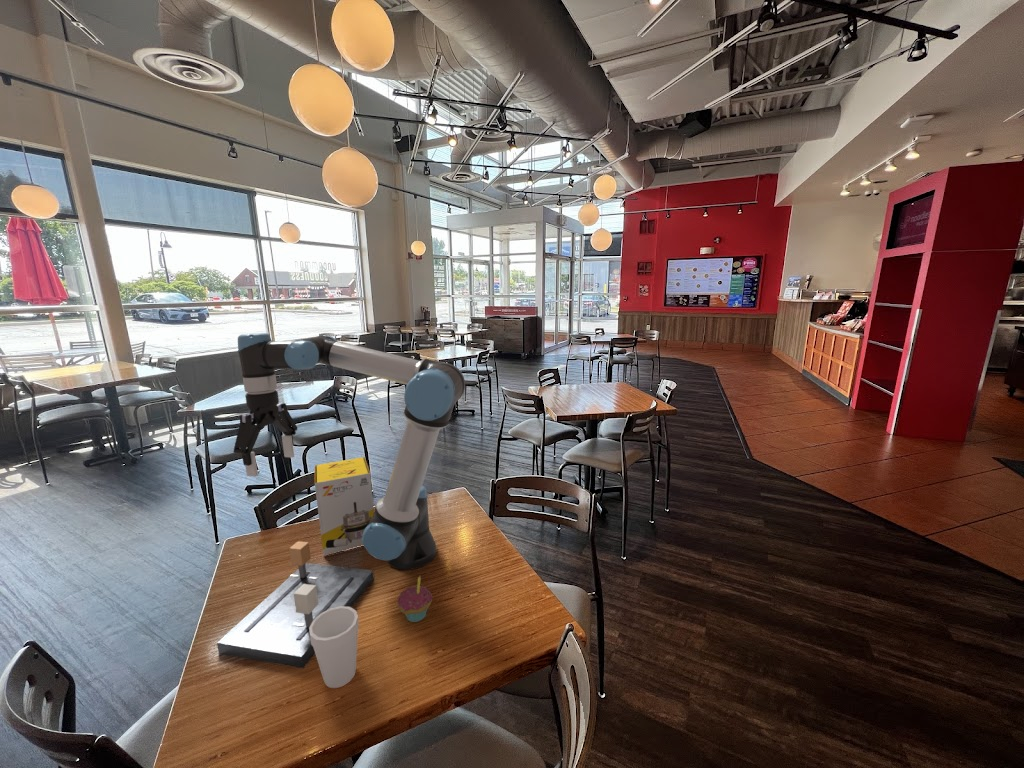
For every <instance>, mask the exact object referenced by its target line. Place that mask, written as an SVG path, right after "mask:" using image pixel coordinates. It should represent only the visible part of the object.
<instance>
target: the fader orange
mask: <svg viewBox="0 0 1024 768" xmlns="http://www.w3.org/2000/svg"><path fill="white" fill-rule="evenodd" d="M288 550H289V555H290V563H291V565H293V566H298V569H299V574H300V578H304V577H305V576H306V575H307V574H306V567H305V563H308V561H310V560H311V559H312V557H311V551H310V550H311V548H310V543H309V541H308V542H307V541H296V542H295V543H294V544H293V545H291V546H290V547H289V549H288Z"/></svg>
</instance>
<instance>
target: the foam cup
mask: <svg viewBox="0 0 1024 768" xmlns="http://www.w3.org/2000/svg"><path fill="white" fill-rule="evenodd" d="M359 627H360V624H359V616H358V612H357V610H356V609H354V608H353V607H352V608H351V607H345V606H339V607H335V608H331V609H329V610H327V611H325V612H323V613H321V614H320V615H318V616H317V617H316V618H315V619H314V620H313V621H312V623H311V625H310V627H309V632H310V639H311V645H312V646H313V648H314V651H315V654H314V655H315V657H316V661H317V663H318V667H319V670H320V673H321V677H322V679H323V682H324V685H326V686H327V687H328V688H329V689H330V688H331V689H337V688H341V687H343V686H346V685H347V684H348V683H350V682H351V681H352V680H353V678H354V677H355V674H356V670H357V659H358V658H357V655H358V638H359V637H358V636H359V635H358V634H359Z"/></svg>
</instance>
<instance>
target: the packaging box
mask: <svg viewBox="0 0 1024 768" xmlns="http://www.w3.org/2000/svg"><path fill="white" fill-rule="evenodd" d="M367 462H368V461H367V460H366V457H365V456H362V457H356V458H350V459H345V460H338V461H332V462H331V461H330V462H325V463H320V464H315V465H314V490H315V495H316V496H315V497H316V506H317V512H318V523H319V530H320V538H321V539H320V540H321V546H322V555H326V554H330V553H334V552H338V551H342V550H346V549H349V548H353V547H357V546H361V545H363V542H362V535H363V532H364V530H365V528H366V527H367V526H368V525H369V524H370V522H371V520H372V518H373V514H374V511H375V508H374V500H373V499H374V498H373V488H372V480H371V479H372V478H371V477H372V476H371V471H370V468H369V465H368V463H367Z"/></svg>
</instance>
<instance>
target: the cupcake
mask: <svg viewBox="0 0 1024 768" xmlns="http://www.w3.org/2000/svg"><path fill="white" fill-rule="evenodd" d="M432 600H433V594H432V592H431V591H430V590H429V588H428V587H426V586H421V575H419V576H418V577H417V585H413V586H409V587H407V588H406V589H405V590H403V591H402V592H401V593H400V594H399V596H398V599H397V609H398V610H399V611H400V612H401V613H402V614H404V615H405V616H406V619H407V621H410V622H411V623H412V622H413V623H415V622H416V623H417V622H421V621H422V620H423V619H425V617H426V614H427V612H428V610H429V607H430V606H431V605H432V602H433V601H432Z"/></svg>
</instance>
